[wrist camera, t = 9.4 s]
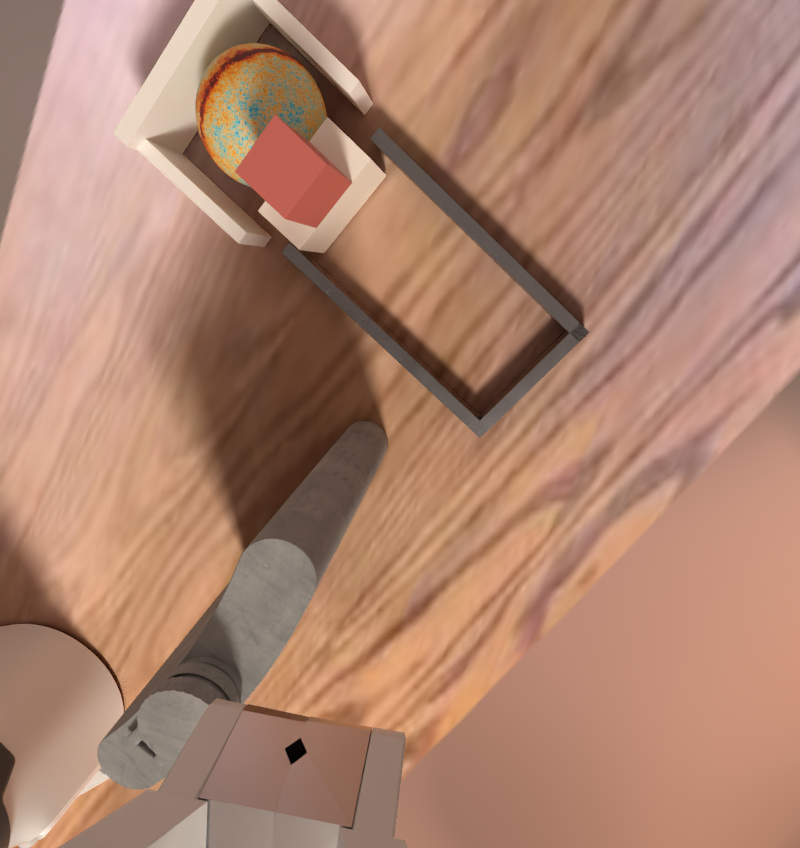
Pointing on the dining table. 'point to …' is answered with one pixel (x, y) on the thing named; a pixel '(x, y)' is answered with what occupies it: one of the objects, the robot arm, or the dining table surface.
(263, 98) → the ball
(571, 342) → the dark grey rectangular frame
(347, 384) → the dining table surface
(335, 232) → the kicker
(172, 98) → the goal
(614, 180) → the dining table surface
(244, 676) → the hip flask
